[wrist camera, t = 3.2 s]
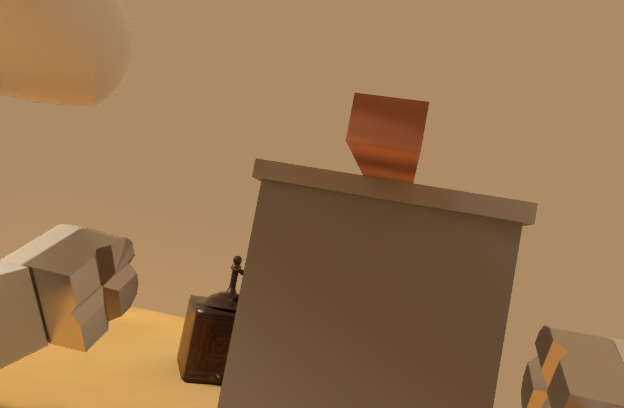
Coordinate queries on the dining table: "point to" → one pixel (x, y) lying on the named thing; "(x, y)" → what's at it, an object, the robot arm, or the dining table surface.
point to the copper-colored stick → (386, 135)
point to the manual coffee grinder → (208, 333)
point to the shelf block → (371, 293)
